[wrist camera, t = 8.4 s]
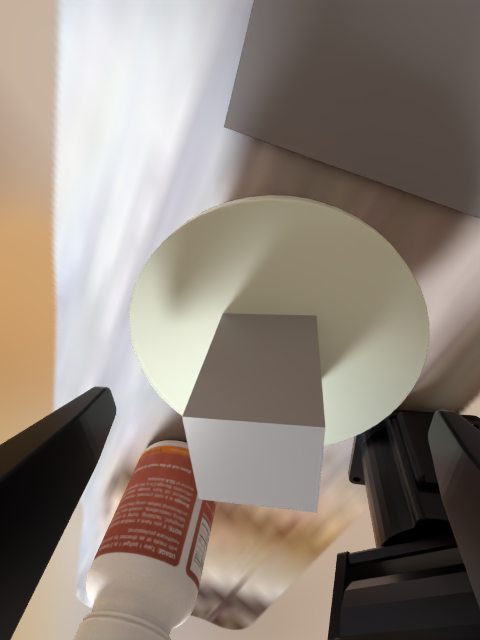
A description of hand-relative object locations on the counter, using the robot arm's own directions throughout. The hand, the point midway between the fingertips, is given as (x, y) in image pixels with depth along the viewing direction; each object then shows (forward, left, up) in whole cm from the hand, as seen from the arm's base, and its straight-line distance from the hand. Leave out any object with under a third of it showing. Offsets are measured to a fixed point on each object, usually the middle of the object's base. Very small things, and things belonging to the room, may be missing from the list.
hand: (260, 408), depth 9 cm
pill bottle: (-15, +7, -9) cm, 19 cm away
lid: (0, 0, -3) cm, 3 cm away
